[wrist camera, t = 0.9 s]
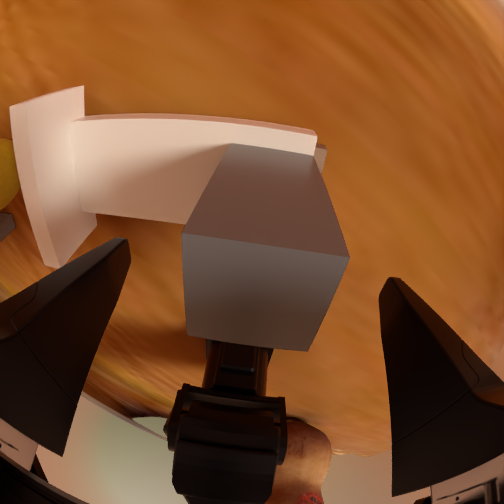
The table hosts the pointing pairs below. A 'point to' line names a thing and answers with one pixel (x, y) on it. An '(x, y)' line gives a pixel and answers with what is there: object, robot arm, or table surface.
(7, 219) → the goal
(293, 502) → the butternut squash
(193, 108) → the table surface
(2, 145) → the lemon
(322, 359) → the table surface
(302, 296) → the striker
